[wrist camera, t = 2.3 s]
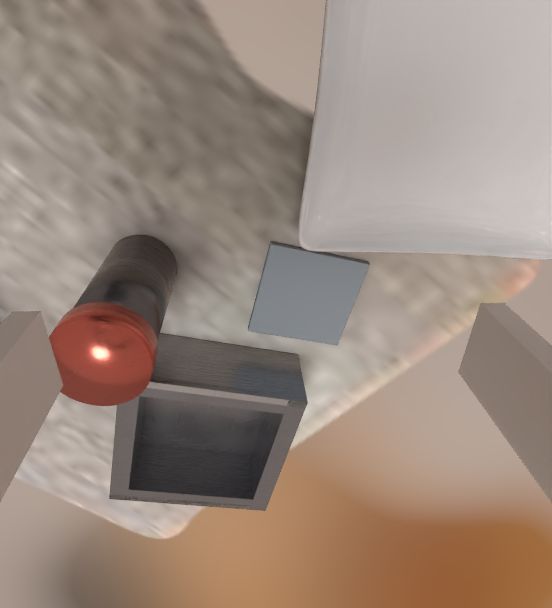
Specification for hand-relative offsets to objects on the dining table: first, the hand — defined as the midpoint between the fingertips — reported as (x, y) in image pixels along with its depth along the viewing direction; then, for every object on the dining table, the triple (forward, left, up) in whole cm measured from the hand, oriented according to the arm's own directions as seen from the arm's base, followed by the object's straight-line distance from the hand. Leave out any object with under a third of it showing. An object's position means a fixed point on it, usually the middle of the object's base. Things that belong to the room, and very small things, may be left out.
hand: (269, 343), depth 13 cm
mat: (+6, -8, -19) cm, 21 cm away
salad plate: (+12, +9, -19) cm, 25 cm away
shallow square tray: (0, -21, -19) cm, 28 cm away
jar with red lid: (-7, -8, -19) cm, 21 cm away
